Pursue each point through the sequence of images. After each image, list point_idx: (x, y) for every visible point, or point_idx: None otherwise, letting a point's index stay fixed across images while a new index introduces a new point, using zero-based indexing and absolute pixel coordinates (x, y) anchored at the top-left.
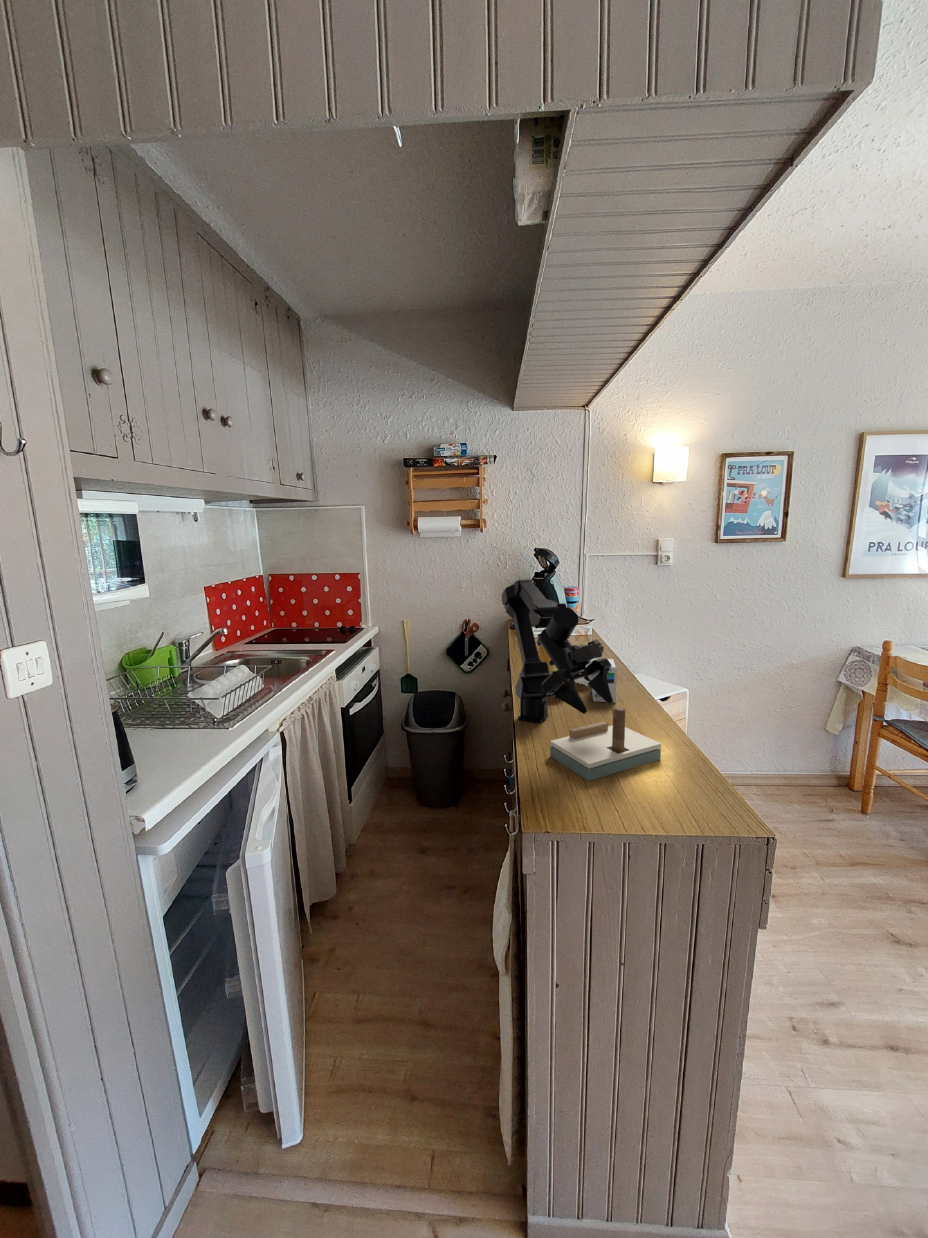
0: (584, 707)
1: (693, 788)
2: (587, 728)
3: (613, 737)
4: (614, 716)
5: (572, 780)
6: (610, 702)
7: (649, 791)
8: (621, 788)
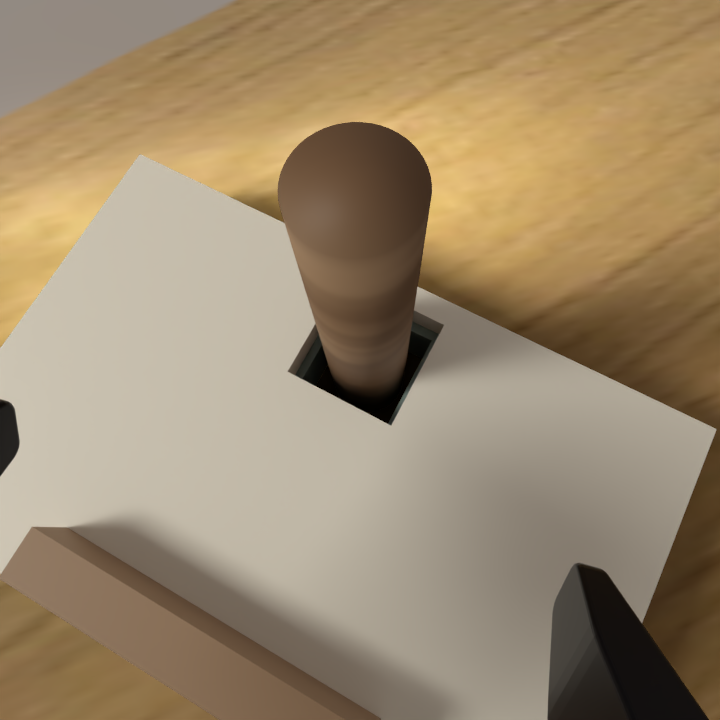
0: (625, 610)
1: (406, 30)
2: (236, 651)
3: (404, 341)
4: (417, 256)
5: (713, 534)
6: (11, 429)
7: (554, 164)
8: (614, 276)
